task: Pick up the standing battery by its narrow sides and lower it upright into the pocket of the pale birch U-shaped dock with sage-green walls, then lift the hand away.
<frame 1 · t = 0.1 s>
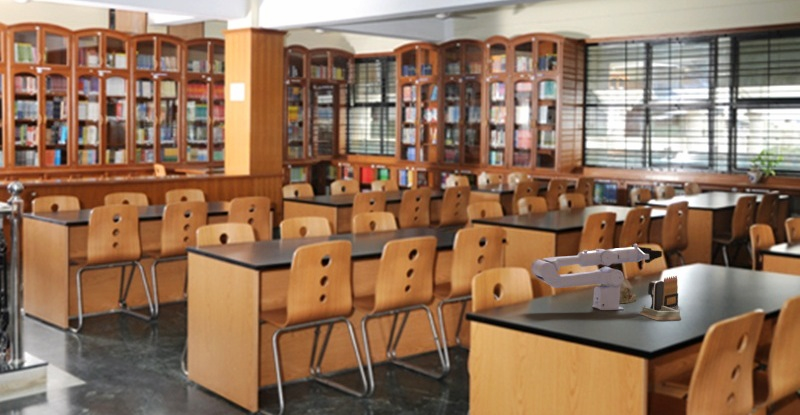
hand: (656, 252, 358), 22 cm above the table, tool horizontal, fingers open, 7 cm apart
battery: (654, 310, 353), on the table
ceramic model: (619, 301, 373), on the table
battery dock: (659, 316, 340), on the table
ammunition clip: (669, 307, 361), on the table
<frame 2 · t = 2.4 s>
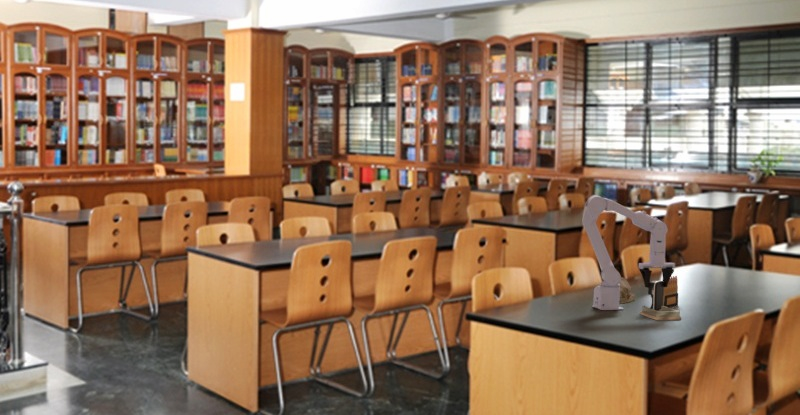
hand: (655, 287, 352), 9 cm above the table, tool pointing down, fingers open, 7 cm apart
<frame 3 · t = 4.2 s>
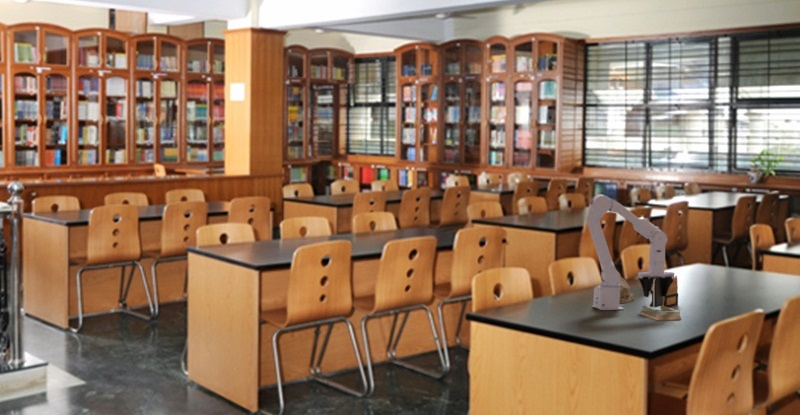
hand: (655, 296, 352), 5 cm above the table, tool pointing down, fingers closed on battery, 7 cm apart
battery: (655, 306, 353), point 1 cm above the table, touching gripper
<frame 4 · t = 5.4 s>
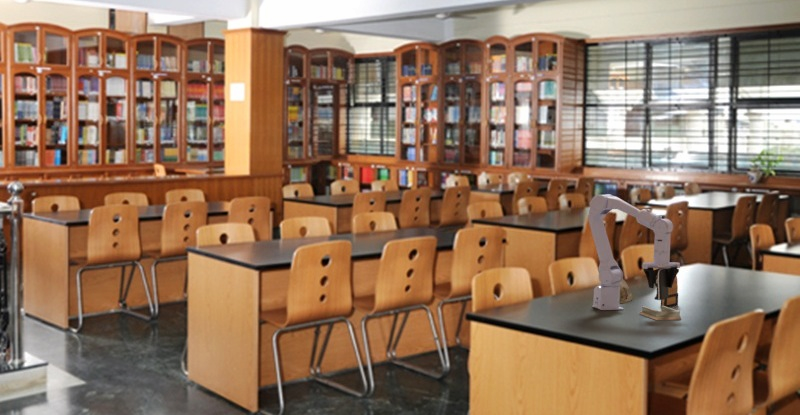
hand: (660, 287, 342), 10 cm above the table, tool pointing down, fingers closed on battery, 7 cm apart
battery: (660, 299, 342), point 6 cm above the table, touching gripper
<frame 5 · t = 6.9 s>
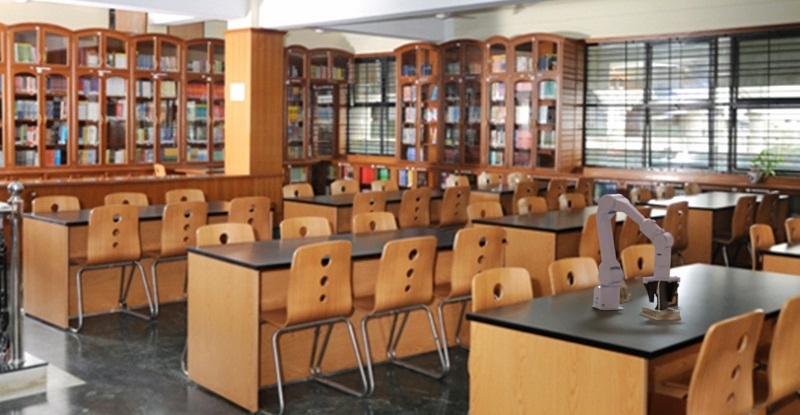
hand: (660, 302, 339), 5 cm above the table, tool pointing down, fingers closed on battery, 7 cm apart
battery: (660, 309, 340), point 3 cm above the table, touching battery dock, gripper
when the fingers open (6 cm above the table, at t = 7.9 s): battery drops 2 cm, resting on battery dock.
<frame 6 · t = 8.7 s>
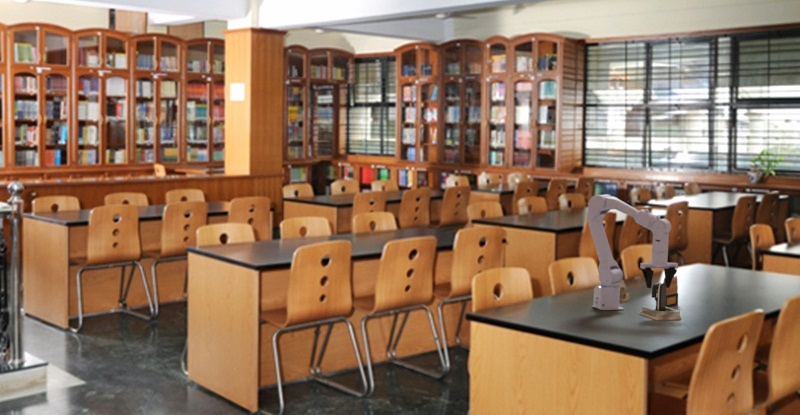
hand: (658, 287, 342), 10 cm above the table, tool pointing down, fingers open, 7 cm apart
battery: (657, 314, 341), point 1 cm above the table, touching battery dock
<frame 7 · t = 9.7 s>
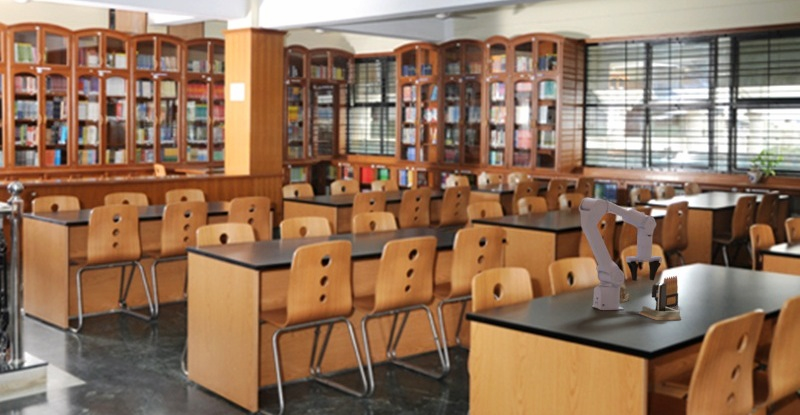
hand: (643, 280, 359), 10 cm above the table, tool pointing down, fingers open, 7 cm apart
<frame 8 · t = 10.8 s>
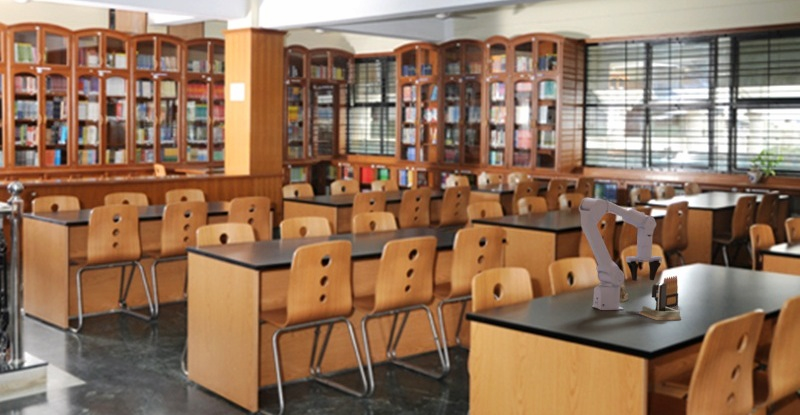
hand: (643, 280, 359), 10 cm above the table, tool pointing down, fingers open, 7 cm apart
at the end: battery 0.9 cm off-centre on the battery dock, point 0.8 cm above the battery dock's base; battery tilted 0°; the gripper is holding nothing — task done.
